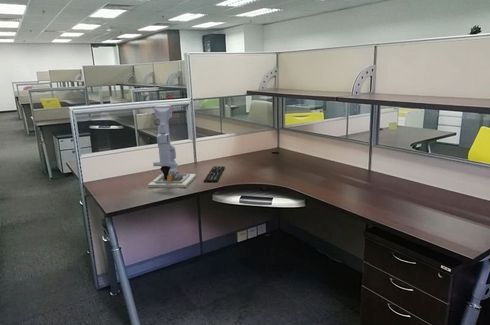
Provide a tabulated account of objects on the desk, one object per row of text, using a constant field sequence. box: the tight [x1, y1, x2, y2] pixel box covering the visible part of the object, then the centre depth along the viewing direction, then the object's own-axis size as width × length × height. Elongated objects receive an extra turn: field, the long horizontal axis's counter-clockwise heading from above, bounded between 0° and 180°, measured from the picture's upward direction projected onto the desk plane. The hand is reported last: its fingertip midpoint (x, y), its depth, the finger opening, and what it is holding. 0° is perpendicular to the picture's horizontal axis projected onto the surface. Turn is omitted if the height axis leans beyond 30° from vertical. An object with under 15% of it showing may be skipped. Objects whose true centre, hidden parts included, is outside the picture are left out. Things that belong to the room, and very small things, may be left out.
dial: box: [162, 170, 183, 182], centre depth 208 cm, size 16×12×5 cm
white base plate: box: [147, 173, 197, 188], centre depth 211 cm, size 22×22×2 cm
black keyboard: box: [203, 165, 226, 183], centre depth 223 cm, size 8×32×2 cm, turn 175°
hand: (166, 179), depth 202 cm, fingers closed, pressing on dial
